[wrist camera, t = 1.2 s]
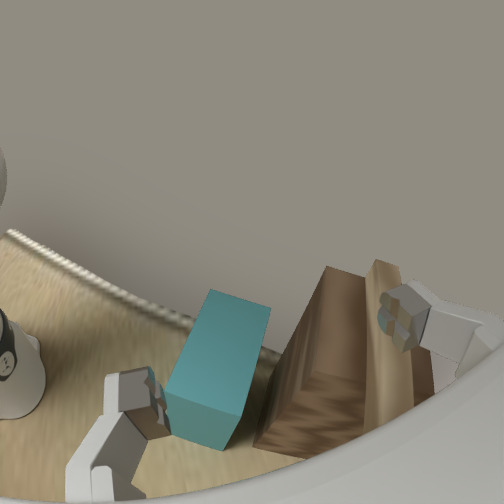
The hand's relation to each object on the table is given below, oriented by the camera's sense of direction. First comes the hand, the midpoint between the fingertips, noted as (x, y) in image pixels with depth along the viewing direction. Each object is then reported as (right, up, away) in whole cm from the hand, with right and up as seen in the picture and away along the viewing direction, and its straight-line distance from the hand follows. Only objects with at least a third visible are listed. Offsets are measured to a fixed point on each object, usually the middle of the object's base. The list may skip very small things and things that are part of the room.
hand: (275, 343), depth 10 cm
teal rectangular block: (-7, -20, +35) cm, 41 cm away
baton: (+10, -7, +15) cm, 19 cm away
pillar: (+7, -24, +35) cm, 42 cm away
